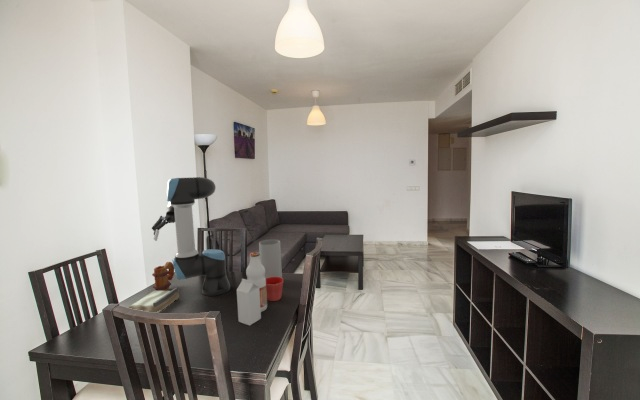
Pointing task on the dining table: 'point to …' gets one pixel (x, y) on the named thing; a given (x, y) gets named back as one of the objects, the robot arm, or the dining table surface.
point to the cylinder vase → (271, 257)
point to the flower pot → (274, 288)
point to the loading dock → (156, 300)
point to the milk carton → (248, 302)
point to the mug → (163, 276)
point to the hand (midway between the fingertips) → (167, 239)
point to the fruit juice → (258, 277)
